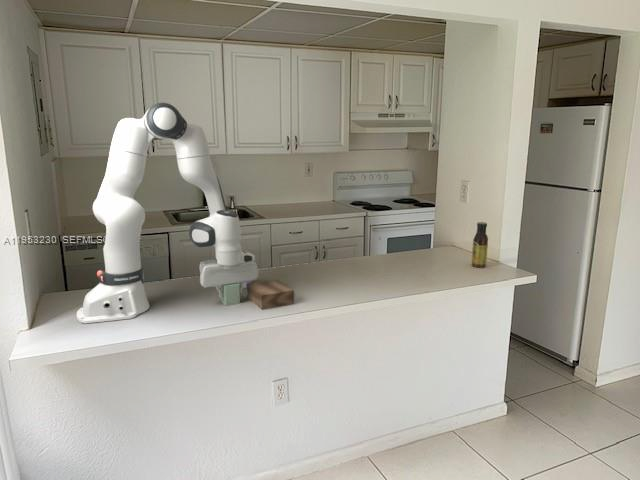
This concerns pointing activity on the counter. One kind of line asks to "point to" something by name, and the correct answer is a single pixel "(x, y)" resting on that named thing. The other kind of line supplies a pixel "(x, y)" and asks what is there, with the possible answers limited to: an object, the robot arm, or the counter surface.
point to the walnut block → (270, 294)
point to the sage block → (230, 294)
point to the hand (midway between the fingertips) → (230, 295)
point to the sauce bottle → (480, 246)
